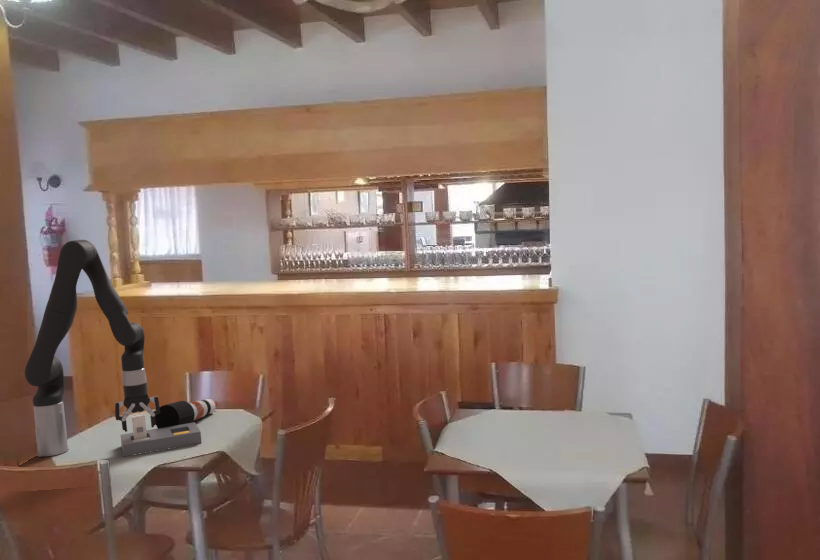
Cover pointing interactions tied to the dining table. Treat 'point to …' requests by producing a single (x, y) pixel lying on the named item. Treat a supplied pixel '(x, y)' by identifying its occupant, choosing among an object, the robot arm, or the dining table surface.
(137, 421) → the plug
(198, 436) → the panel
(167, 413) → the black white red bottle
